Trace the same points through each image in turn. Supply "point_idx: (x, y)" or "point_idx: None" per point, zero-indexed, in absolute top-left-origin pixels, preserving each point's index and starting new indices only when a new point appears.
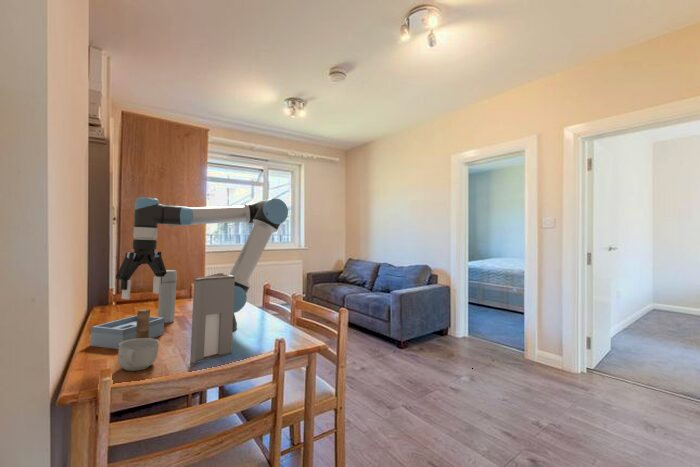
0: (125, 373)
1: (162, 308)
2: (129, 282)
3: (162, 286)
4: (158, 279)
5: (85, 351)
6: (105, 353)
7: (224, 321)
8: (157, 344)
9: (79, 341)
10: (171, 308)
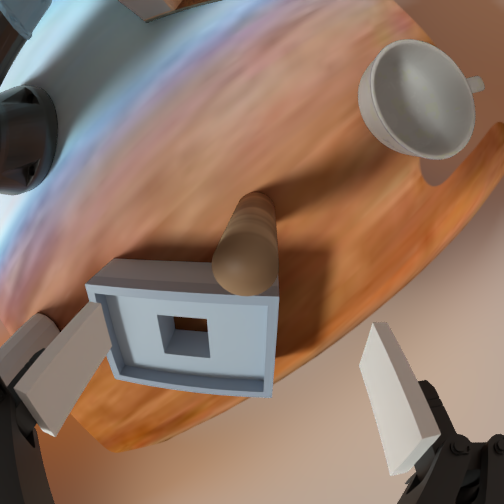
0: None
1: None
2: (428, 421)
3: None
4: (43, 385)
5: (314, 335)
6: (319, 279)
7: None
8: (407, 39)
9: None
10: (21, 336)
